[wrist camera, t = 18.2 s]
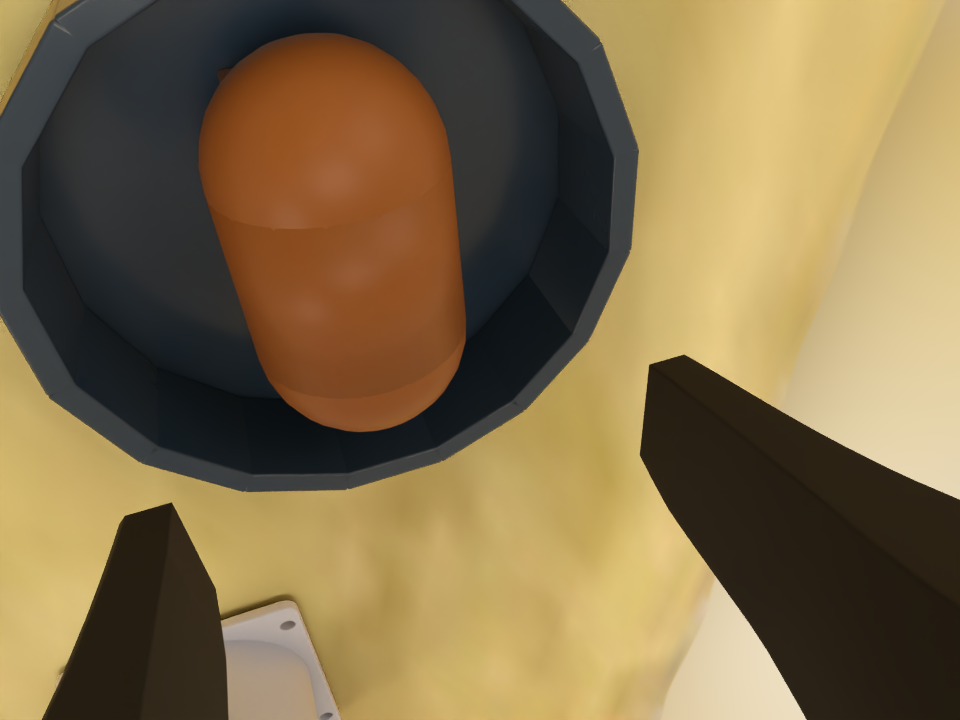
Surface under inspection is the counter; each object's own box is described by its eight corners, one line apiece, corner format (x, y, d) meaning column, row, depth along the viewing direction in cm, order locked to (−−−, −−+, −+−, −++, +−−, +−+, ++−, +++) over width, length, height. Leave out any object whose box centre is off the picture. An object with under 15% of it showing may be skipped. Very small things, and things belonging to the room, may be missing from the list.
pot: (569, 339, 24) (619, 409, 21) (139, 457, 21) (138, 552, 19) (578, -160, 15) (662, -141, 13) (-136, -72, 13) (-204, -26, 10)
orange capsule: (441, 325, 21) (500, 440, 18) (269, 369, 20) (296, 501, 17) (400, -14, 16) (475, 57, 12) (158, 24, 15) (163, 113, 11)
